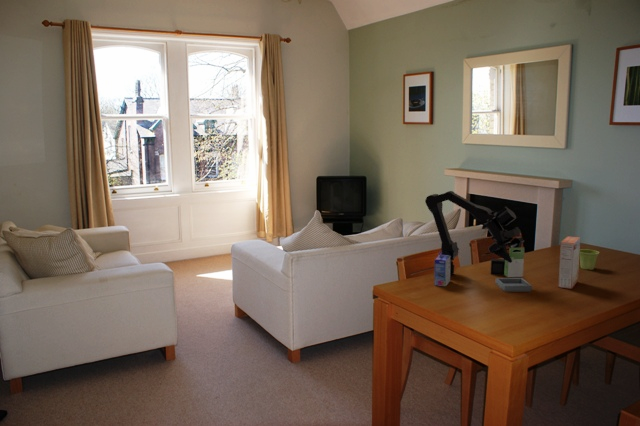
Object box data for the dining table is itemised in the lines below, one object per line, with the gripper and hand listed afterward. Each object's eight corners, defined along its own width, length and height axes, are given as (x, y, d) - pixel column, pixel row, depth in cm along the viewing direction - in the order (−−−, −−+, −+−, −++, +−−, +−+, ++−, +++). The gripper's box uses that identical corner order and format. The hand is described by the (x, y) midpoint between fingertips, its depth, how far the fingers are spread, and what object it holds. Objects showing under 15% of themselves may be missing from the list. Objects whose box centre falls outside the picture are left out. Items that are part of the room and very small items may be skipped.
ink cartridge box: (438, 279, 254) (439, 249, 252) (450, 281, 252) (451, 250, 250) (433, 285, 245) (434, 254, 243) (445, 286, 243) (446, 255, 241)
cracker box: (563, 279, 253) (567, 235, 250) (578, 281, 250) (581, 237, 246) (557, 287, 242) (560, 241, 238) (571, 289, 238) (575, 242, 235)
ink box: (519, 274, 243) (520, 245, 241) (523, 277, 239) (524, 247, 237) (504, 274, 243) (505, 245, 240) (507, 277, 239) (509, 247, 237)
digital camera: (490, 275, 261) (491, 261, 260) (490, 272, 266) (491, 258, 265) (513, 276, 258) (514, 262, 257) (512, 273, 264) (513, 259, 262)
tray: (504, 291, 236) (504, 286, 235) (495, 283, 248) (495, 278, 247) (531, 291, 236) (532, 285, 235) (521, 283, 248) (522, 278, 247)
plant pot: (601, 269, 271) (603, 252, 270) (591, 271, 266) (592, 254, 265) (583, 265, 279) (584, 248, 277) (573, 267, 274) (574, 250, 272)
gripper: (495, 223, 235) (516, 253, 228) (522, 219, 245) (542, 248, 238) (479, 238, 243) (499, 267, 236) (505, 233, 253) (525, 261, 246)
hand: (517, 260), depth 239 cm, fingers closed on ink box, 8 cm apart
